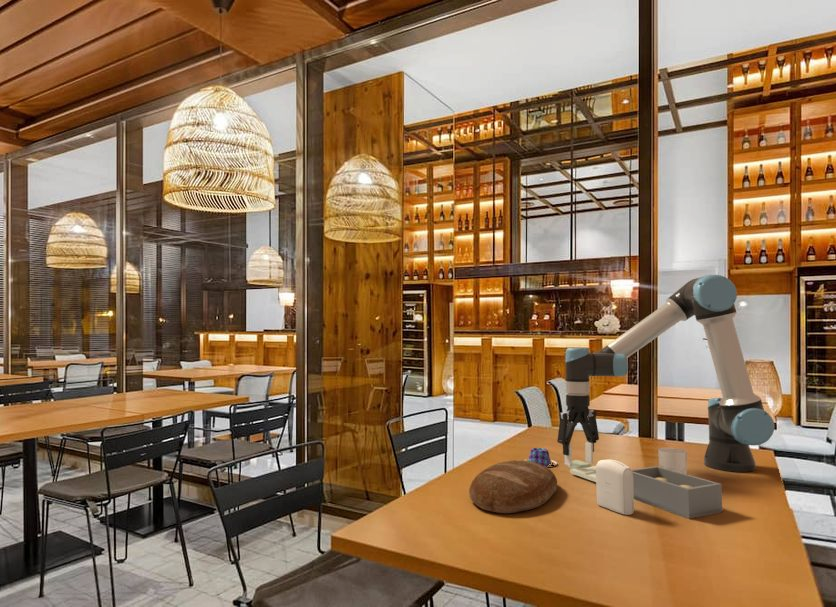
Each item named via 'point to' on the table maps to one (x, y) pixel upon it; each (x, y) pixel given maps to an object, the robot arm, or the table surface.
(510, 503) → the bread
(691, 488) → the tub
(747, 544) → the table surface
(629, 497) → the photo printer
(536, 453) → the patterned hat
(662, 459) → the white cup
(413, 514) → the table surface
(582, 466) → the lid
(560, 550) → the table surface
